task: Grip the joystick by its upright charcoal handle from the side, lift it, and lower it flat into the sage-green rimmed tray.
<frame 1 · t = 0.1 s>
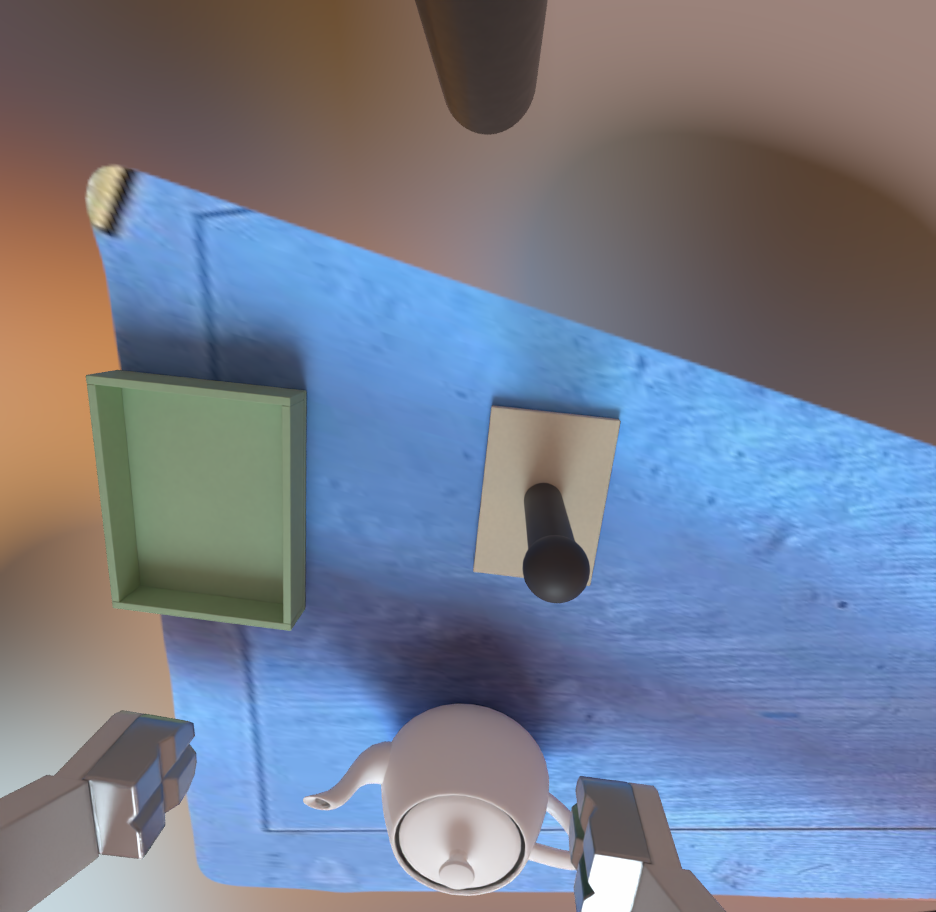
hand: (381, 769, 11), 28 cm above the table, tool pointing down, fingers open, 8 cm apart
tray: (216, 496, 40), on the table
joystick: (542, 497, 38), on the table
teapot: (459, 744, 45), on the table
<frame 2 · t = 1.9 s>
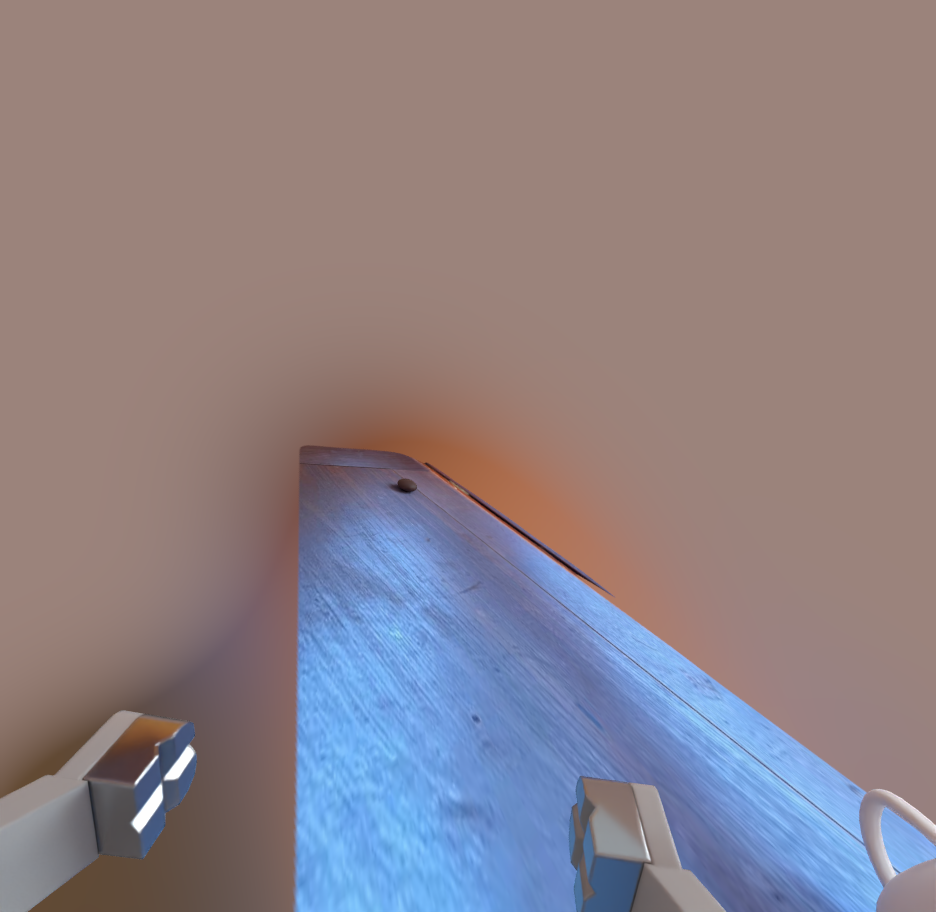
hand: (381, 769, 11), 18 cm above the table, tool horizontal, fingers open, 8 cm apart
chocolate truffle: (405, 490, 78), on the table
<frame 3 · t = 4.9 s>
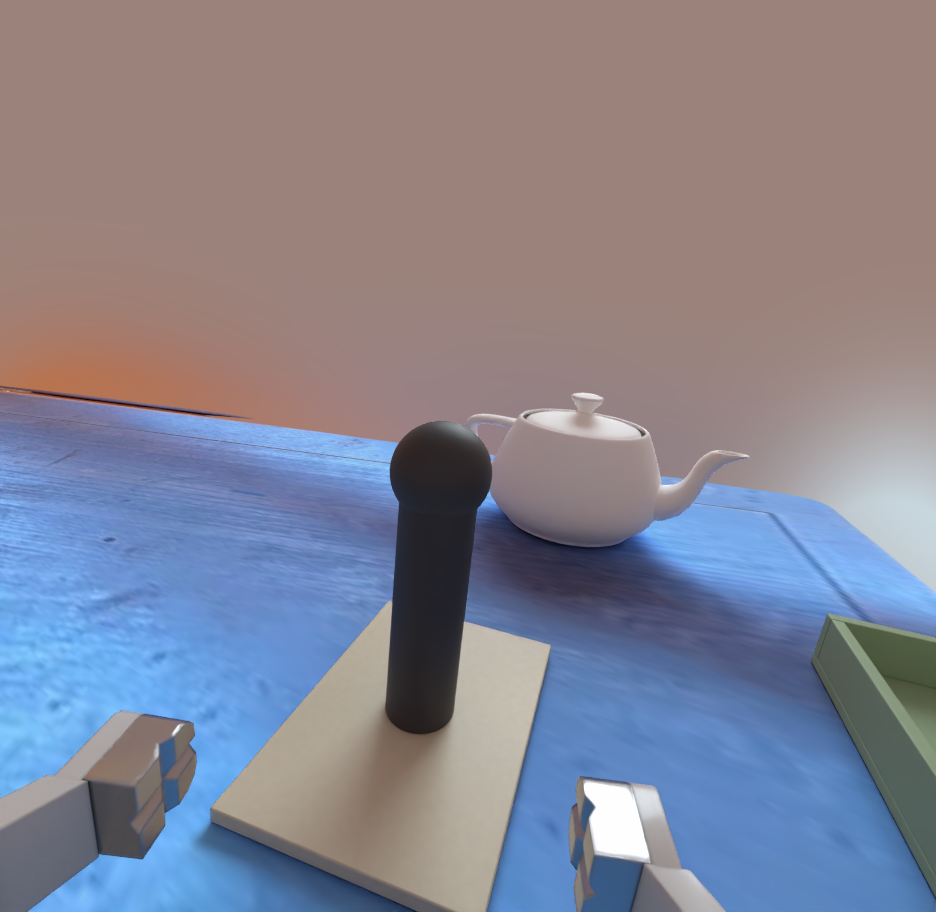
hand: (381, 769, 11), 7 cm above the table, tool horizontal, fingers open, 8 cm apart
joystick: (418, 719, 21), on the table
teapot: (574, 527, 42), on the table
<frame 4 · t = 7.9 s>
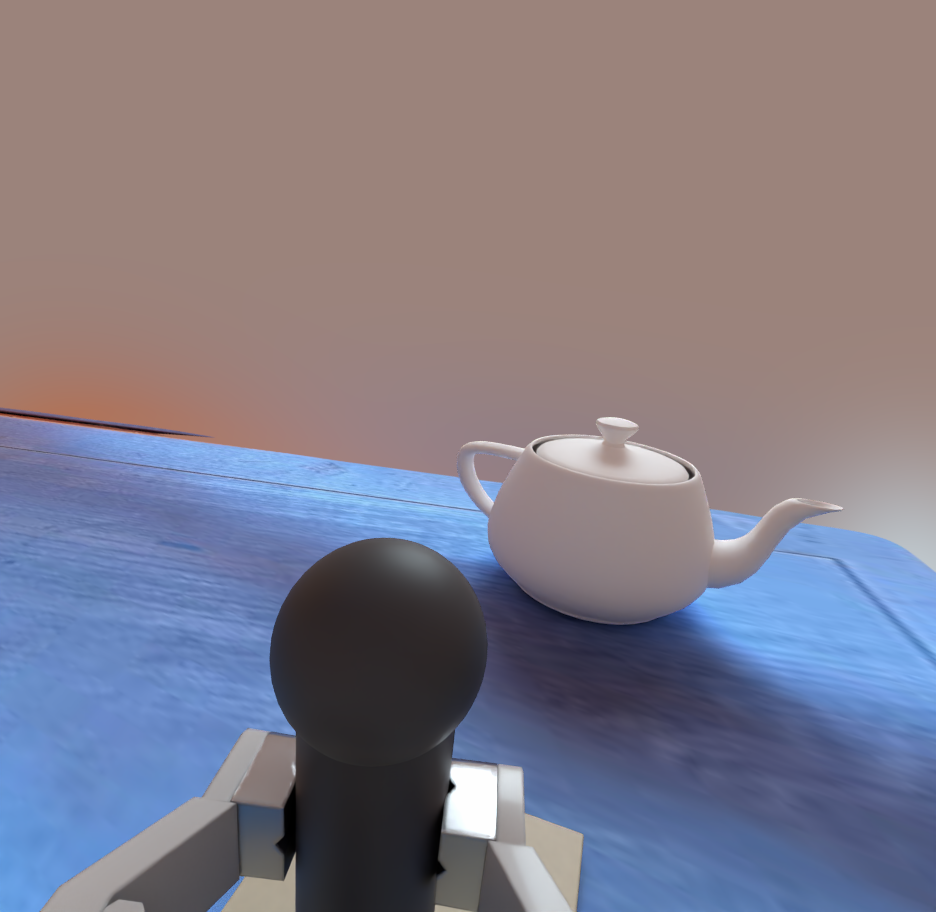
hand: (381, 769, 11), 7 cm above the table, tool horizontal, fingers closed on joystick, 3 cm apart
teapot: (598, 588, 33), on the table
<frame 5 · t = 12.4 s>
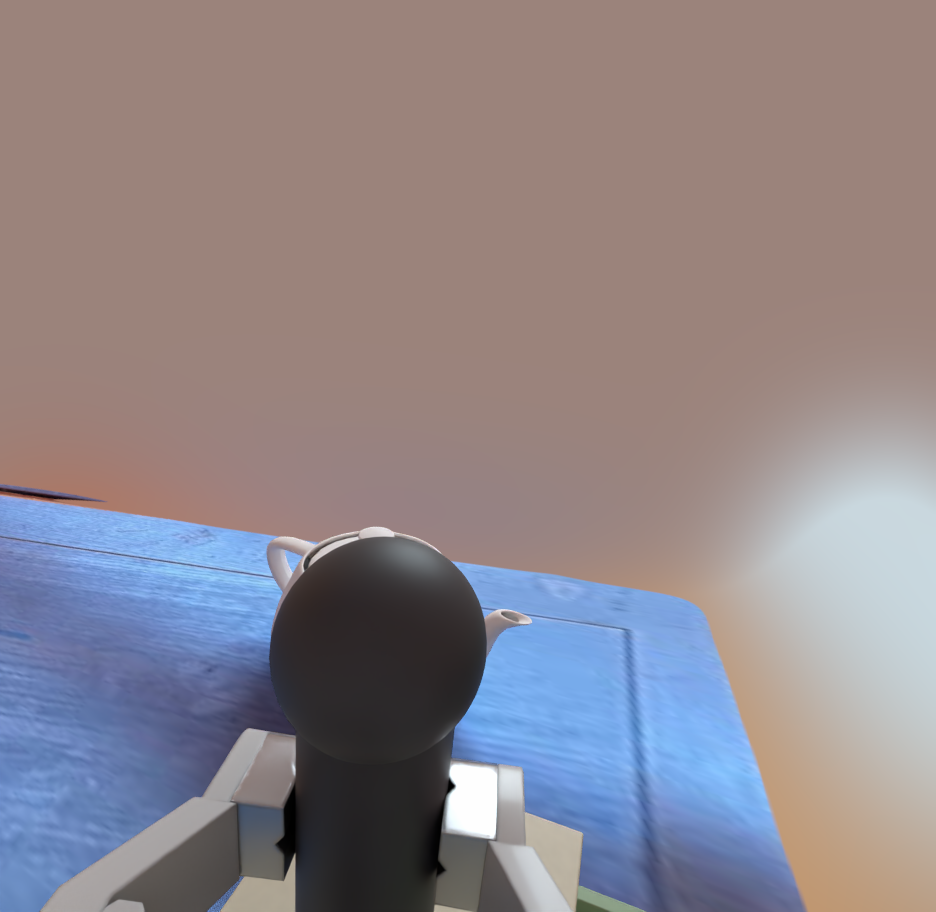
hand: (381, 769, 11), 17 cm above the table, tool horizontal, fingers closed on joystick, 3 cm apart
teapot: (378, 670, 38), on the table
when the fingers open (7 cm above the table, at t = 17.0 s): joystick stays where it is, resting on tray.
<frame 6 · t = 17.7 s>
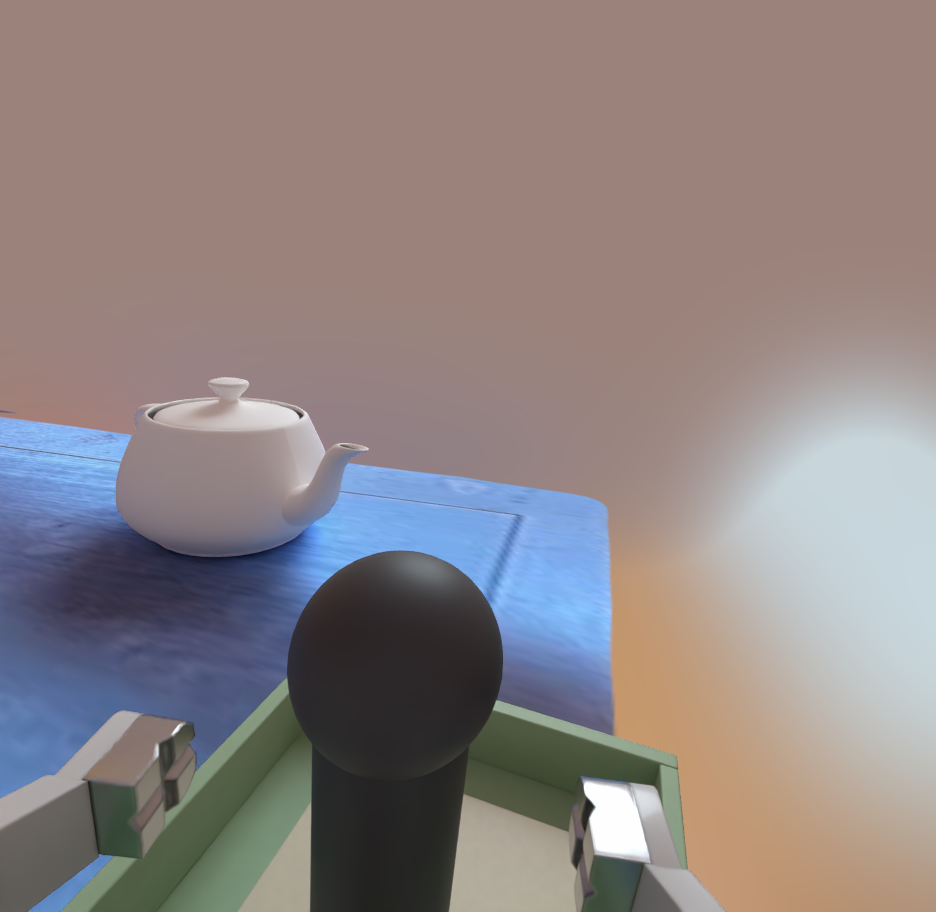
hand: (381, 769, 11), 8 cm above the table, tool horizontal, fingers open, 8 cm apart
teapot: (241, 532, 37), on the table
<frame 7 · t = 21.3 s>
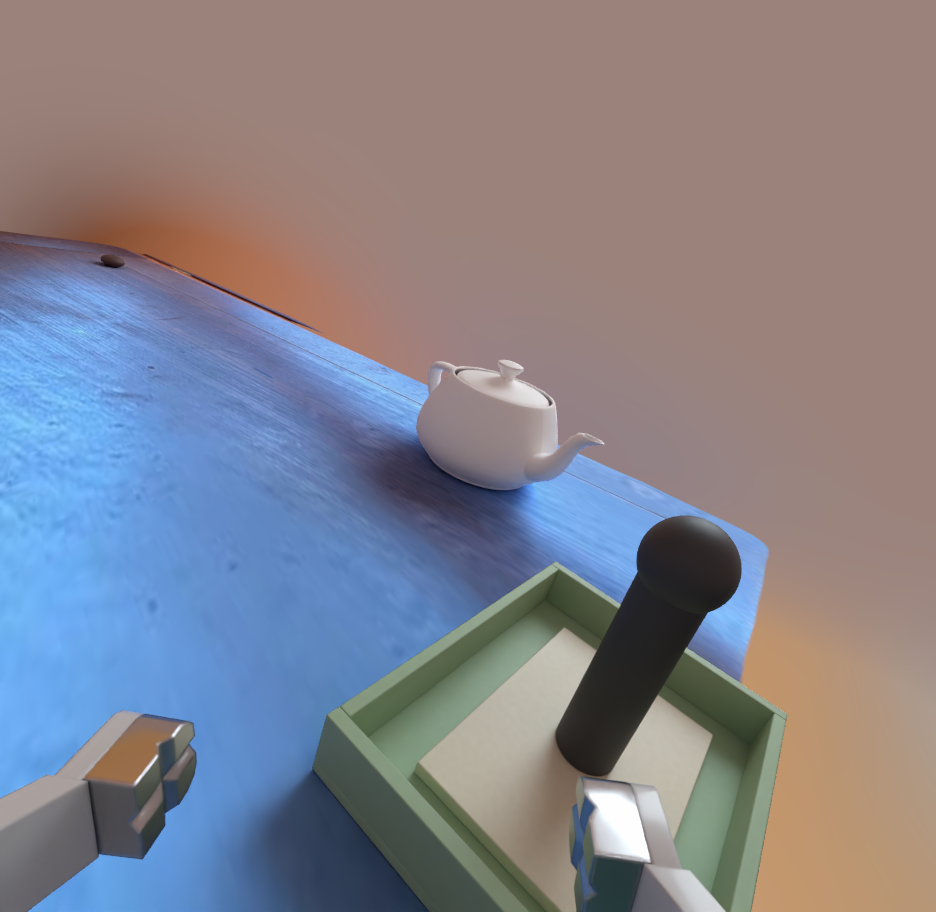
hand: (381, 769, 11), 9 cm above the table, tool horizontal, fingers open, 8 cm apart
tray: (571, 759, 24), on the table
joystick: (579, 755, 23), resting on tray
teapot: (481, 471, 50), on the table
chocolate truffle: (112, 267, 79), on the table
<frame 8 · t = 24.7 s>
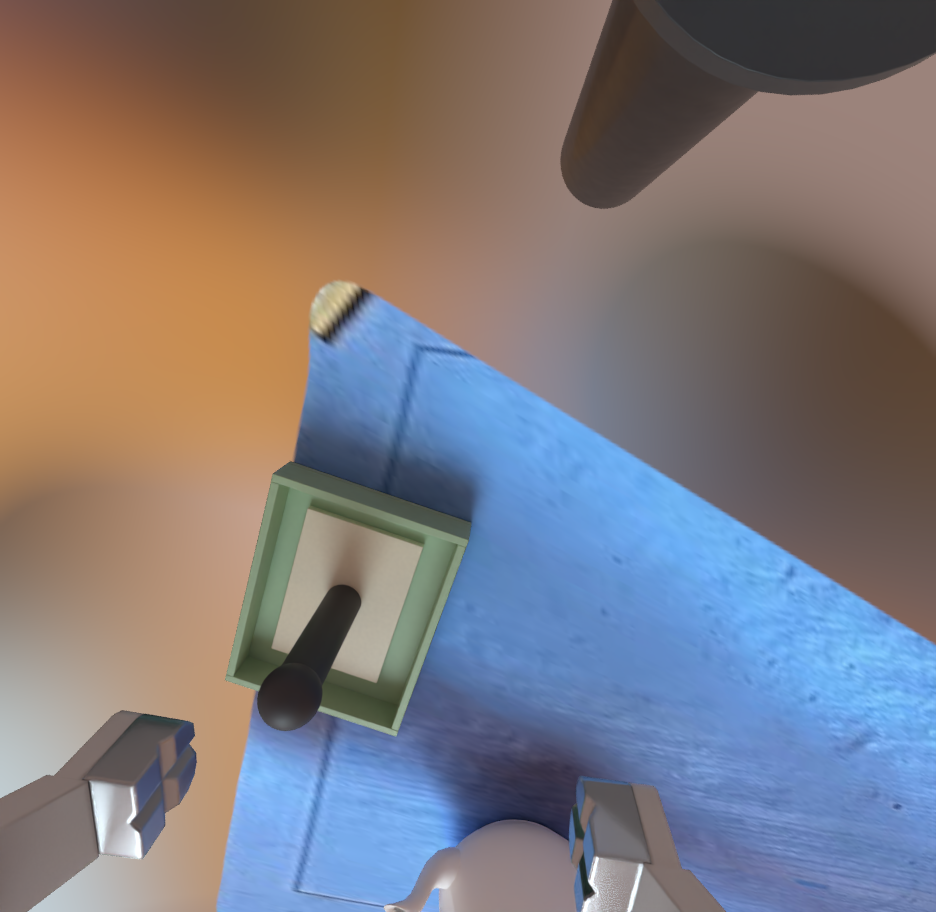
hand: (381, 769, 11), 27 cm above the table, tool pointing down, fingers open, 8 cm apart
tray: (350, 593, 41), on the table
joystick: (346, 596, 40), resting on tray
teapot: (510, 852, 48), on the table
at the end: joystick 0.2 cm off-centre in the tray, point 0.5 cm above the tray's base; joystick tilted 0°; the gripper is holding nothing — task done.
